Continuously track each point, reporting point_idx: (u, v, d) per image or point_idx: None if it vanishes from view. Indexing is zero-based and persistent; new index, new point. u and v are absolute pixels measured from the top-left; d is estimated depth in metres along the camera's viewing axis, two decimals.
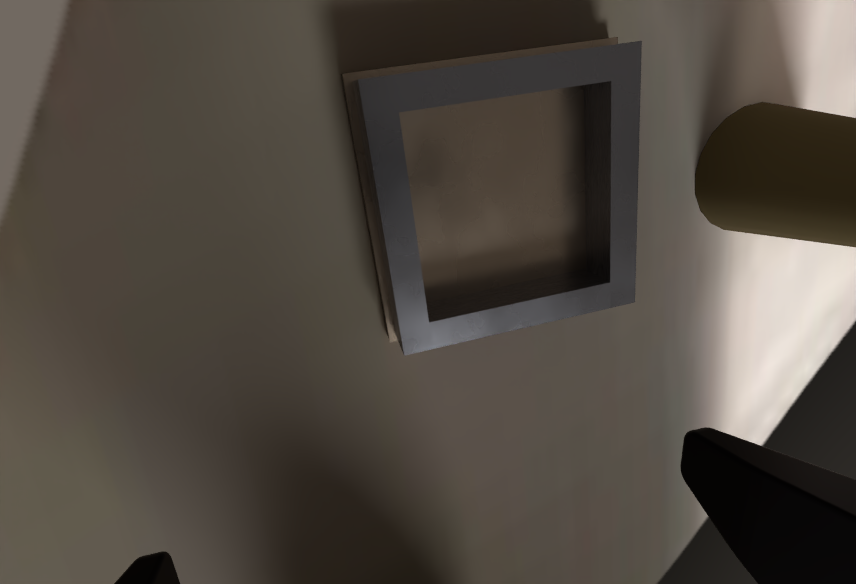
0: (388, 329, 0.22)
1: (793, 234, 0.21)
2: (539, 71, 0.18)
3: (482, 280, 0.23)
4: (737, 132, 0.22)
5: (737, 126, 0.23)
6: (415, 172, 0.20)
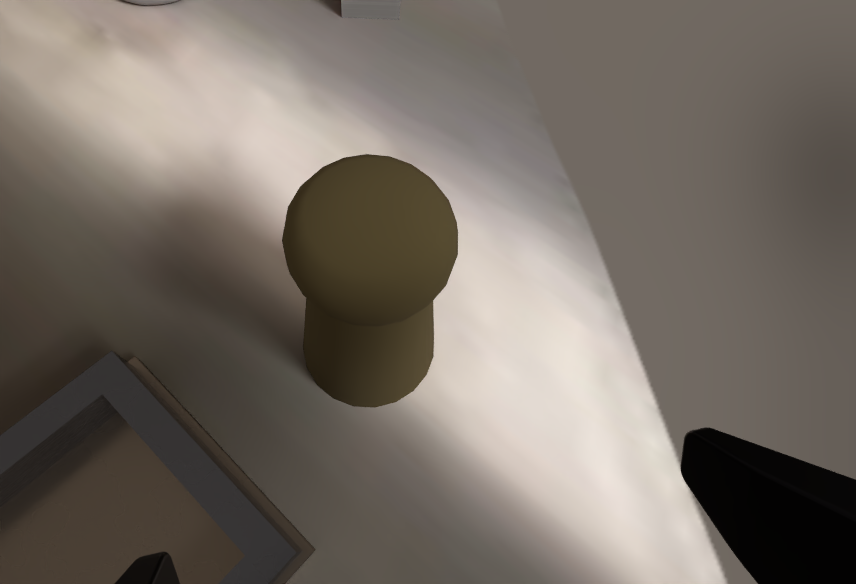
0: None
1: (377, 367, 0.19)
2: (18, 438, 0.18)
3: None
4: None
5: None
6: None
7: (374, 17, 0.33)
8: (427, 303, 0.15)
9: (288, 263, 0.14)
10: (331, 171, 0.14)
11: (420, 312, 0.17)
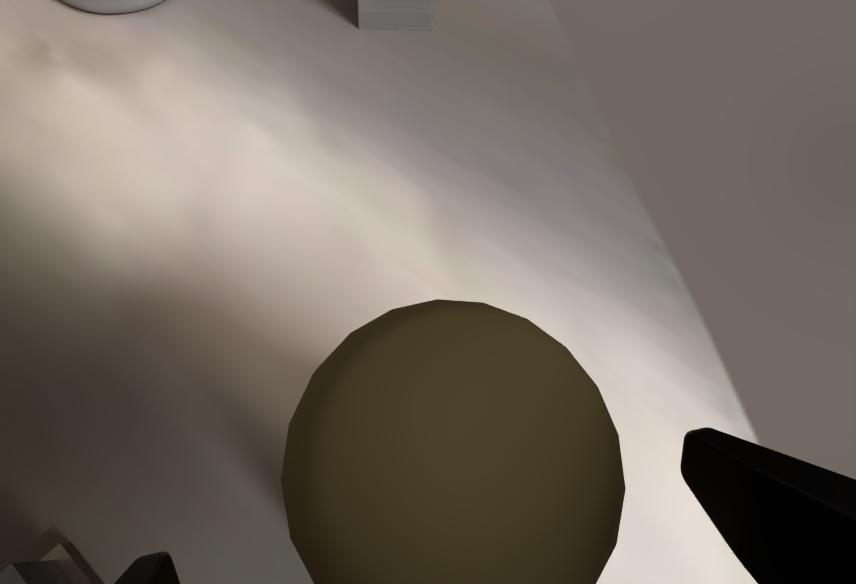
0: None
1: None
2: None
3: None
4: None
5: None
6: None
7: (400, 28, 0.26)
8: None
9: (293, 542, 0.07)
10: (380, 352, 0.07)
11: None
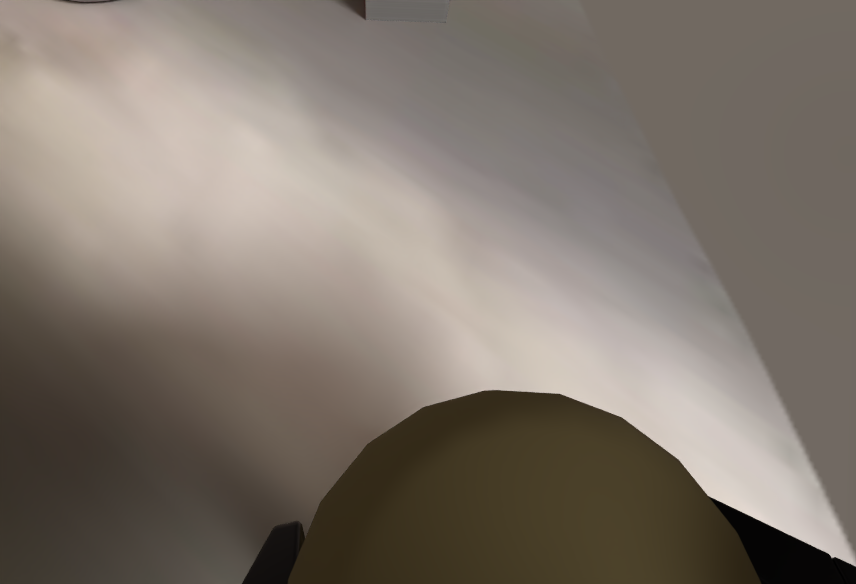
0: None
1: None
2: None
3: None
4: None
5: None
6: None
7: (411, 19, 0.23)
8: None
9: None
10: (425, 494, 0.05)
11: None
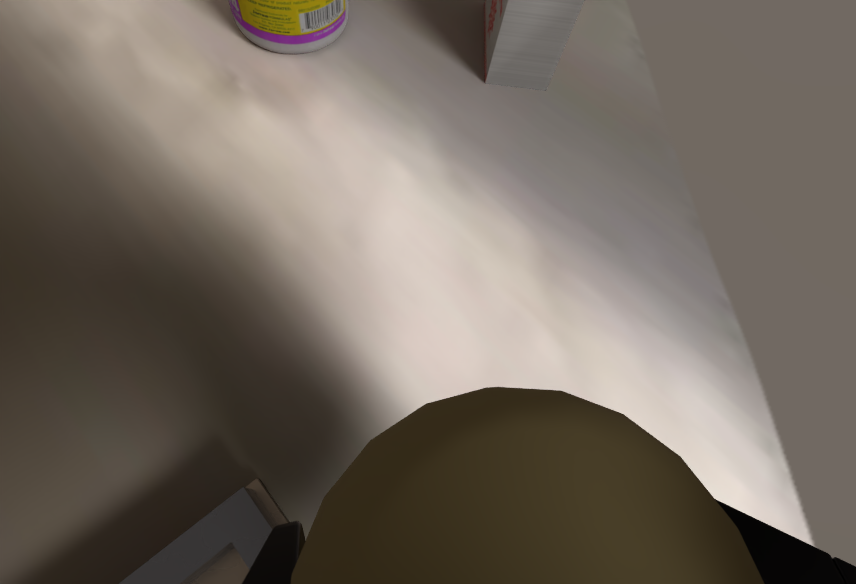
0: None
1: None
2: None
3: None
4: None
5: None
6: None
7: (520, 86, 0.30)
8: None
9: None
10: (428, 490, 0.05)
11: None
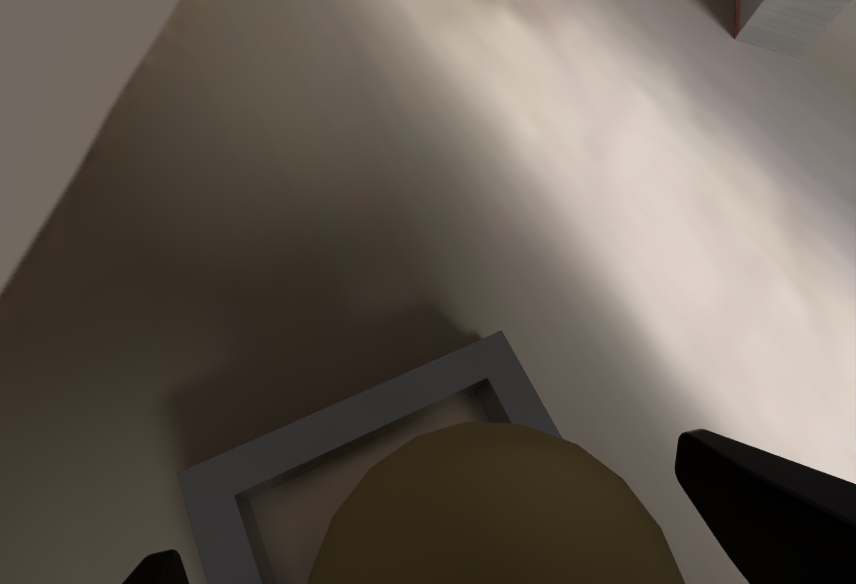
0: None
1: None
2: (397, 395, 0.16)
3: None
4: None
5: None
6: (297, 568, 0.15)
7: (771, 48, 0.29)
8: None
9: None
10: (416, 512, 0.06)
11: None
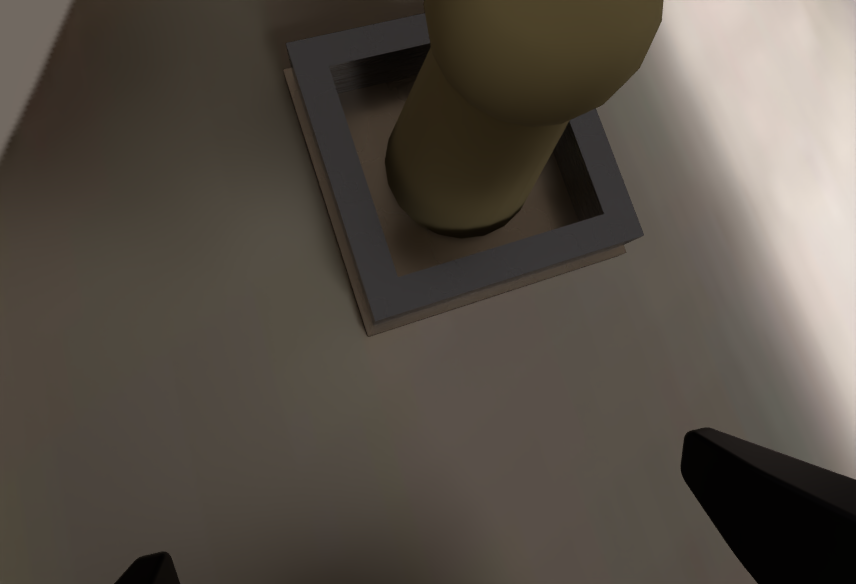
0: (364, 320, 0.19)
1: (489, 188, 0.16)
2: None
3: (463, 252, 0.20)
4: (391, 142, 0.19)
5: (391, 138, 0.19)
6: (366, 146, 0.20)
7: None
8: (603, 102, 0.11)
9: (436, 18, 0.11)
10: None
11: (565, 122, 0.14)
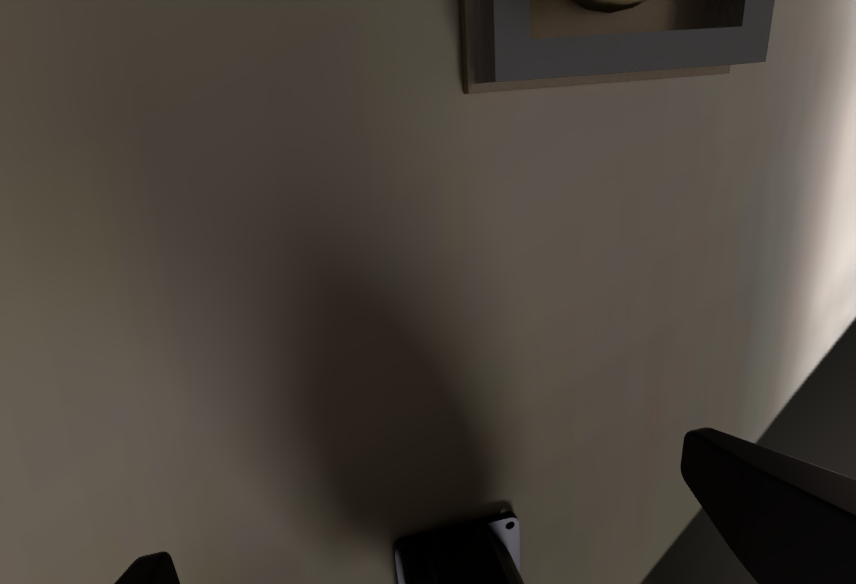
0: (468, 75, 0.18)
1: None
2: None
3: (583, 26, 0.19)
4: None
5: None
6: None
7: None
8: None
9: None
10: None
11: None
